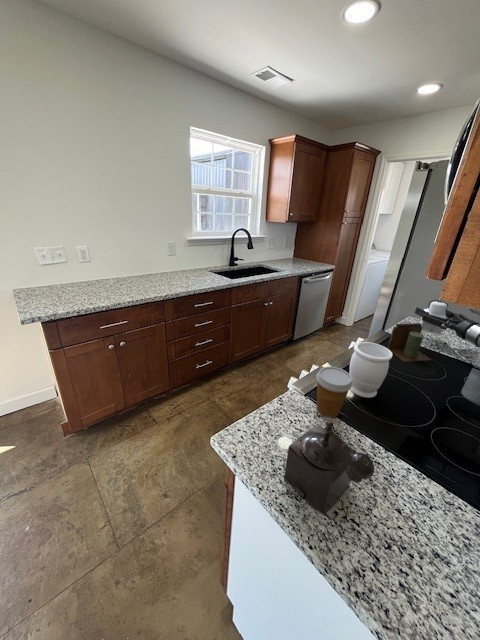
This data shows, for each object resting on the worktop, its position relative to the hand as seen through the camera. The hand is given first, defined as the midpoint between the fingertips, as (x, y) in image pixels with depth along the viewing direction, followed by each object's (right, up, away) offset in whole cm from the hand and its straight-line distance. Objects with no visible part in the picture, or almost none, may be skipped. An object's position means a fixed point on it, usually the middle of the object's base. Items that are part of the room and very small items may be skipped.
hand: (427, 310), depth 117 cm
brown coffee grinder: (-65, -40, -62) cm, 98 cm away
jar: (-43, -27, -31) cm, 60 cm away
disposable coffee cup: (-57, -31, -40) cm, 76 cm away
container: (0, -9, -1) cm, 9 cm away
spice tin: (-15, -18, -12) cm, 27 cm away
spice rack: (-16, -19, -11) cm, 27 cm away
